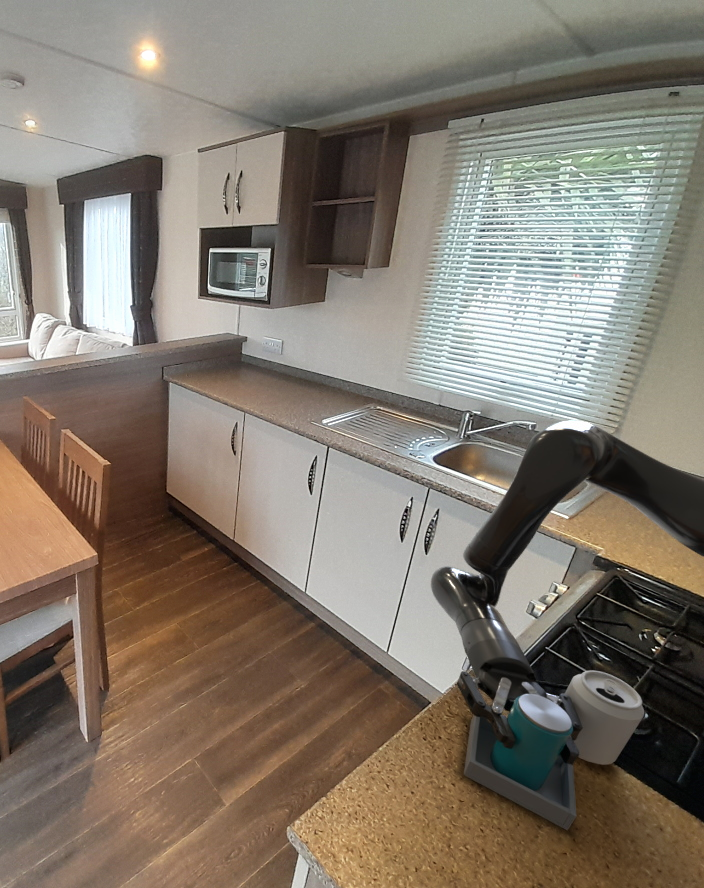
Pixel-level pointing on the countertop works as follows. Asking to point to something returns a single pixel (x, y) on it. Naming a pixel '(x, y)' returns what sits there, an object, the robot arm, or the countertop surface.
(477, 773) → the gray rectangular tray
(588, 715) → the can
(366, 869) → the countertop surface
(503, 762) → the slim can
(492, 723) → the robot arm
